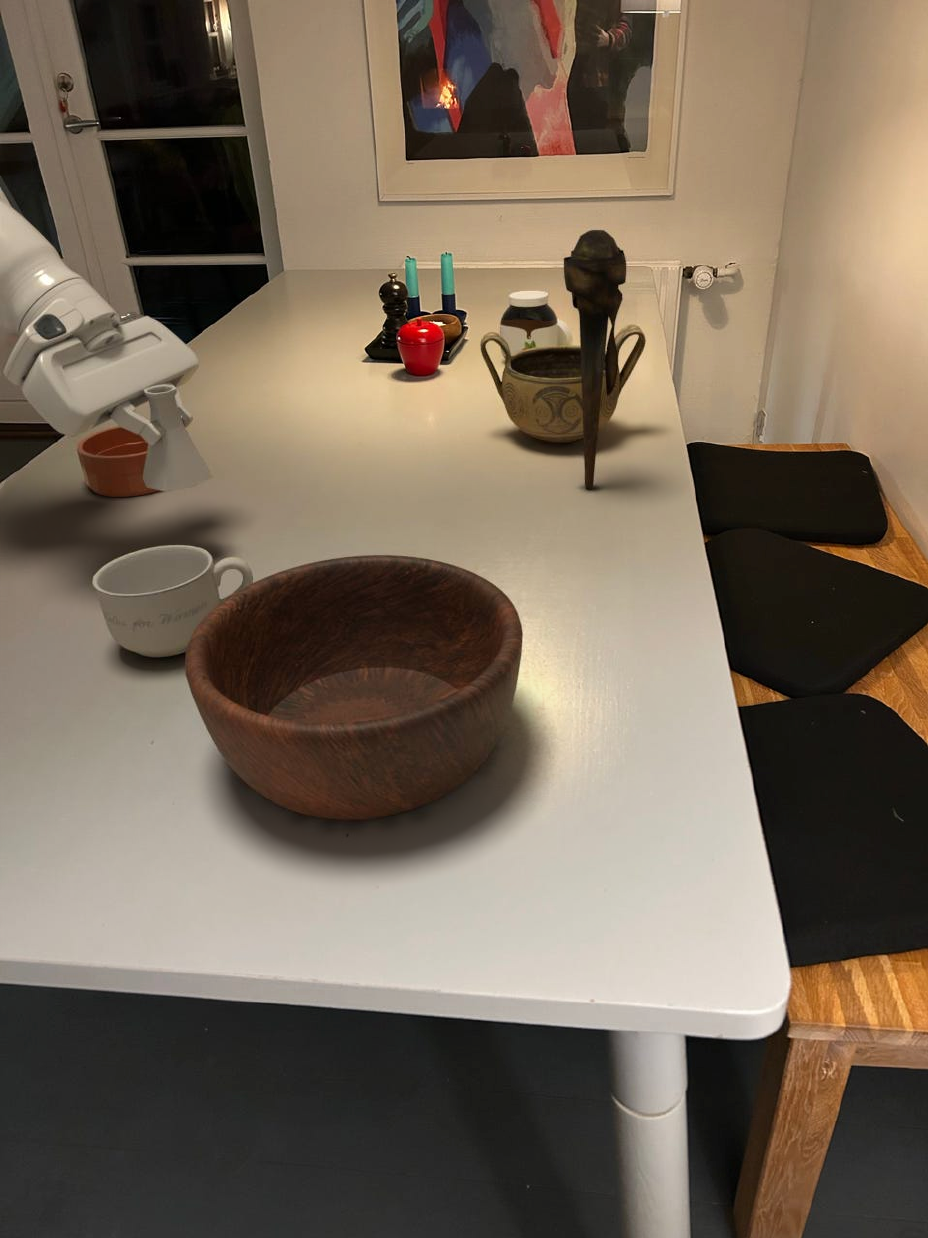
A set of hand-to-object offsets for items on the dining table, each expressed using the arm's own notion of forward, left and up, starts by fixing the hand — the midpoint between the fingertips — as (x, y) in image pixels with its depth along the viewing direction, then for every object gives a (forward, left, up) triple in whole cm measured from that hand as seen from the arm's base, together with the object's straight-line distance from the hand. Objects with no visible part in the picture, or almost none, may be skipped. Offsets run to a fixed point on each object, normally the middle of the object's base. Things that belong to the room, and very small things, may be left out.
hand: (173, 432), depth 96 cm
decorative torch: (+45, +15, -15) cm, 50 cm away
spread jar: (+42, +75, -15) cm, 88 cm away
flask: (-1, 0, -6) cm, 6 cm away
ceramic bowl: (+43, +34, -15) cm, 57 cm away
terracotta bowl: (-15, +24, -14) cm, 32 cm away
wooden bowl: (+22, -34, -15) cm, 43 cm away
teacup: (+3, -18, -15) cm, 23 cm away
